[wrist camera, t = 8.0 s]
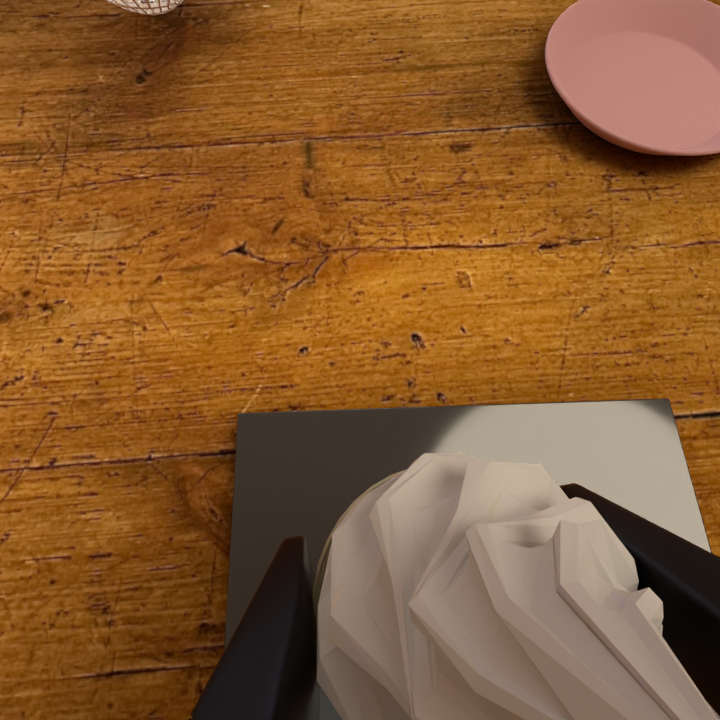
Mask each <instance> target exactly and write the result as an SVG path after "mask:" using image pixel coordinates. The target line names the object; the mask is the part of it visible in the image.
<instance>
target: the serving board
mask: <svg viewBox="0 0 720 720" xmlns="http://www.w3.org/2000/svg"><path fill="white" fill-rule="evenodd" d="M424 453H462V454H466V455H469V456H472V457H475V458H478V459H481V460H484V461H497V462H516V463H534V464H540V465H541V466H542V467H543V468H544V469H545V470H546V471H547V472H548V473H549V474H550V476H551V477H552V478H553V479H554V480H555V482H556V483H557V484H558V486H560V485H566V484H571V483H576V484H579V485H581V486H583V487H585V488H587V489H589V490H591V491H592V492H594V493H596V494H598V495H600V496H602V497H604V498H606V499H608V500H610V501H612V502H614V503H616V504H618V505H620V506H621V507H623V508H625V509H627V510H629V511H631V512H633V513H635V514H637V515H639V516H641V517H643V518H645V519H647V520H648V521H650V522H652V523H654V524H656V525H658V526H660V527H662V528H664V529H666V530H668V531H670V532H672V533H674V534H676V535H677V536H679V537H681V538H683V539H685V540H687V541H689V542H691V543H693V544H695V545H697V546H699V547H701V548H703V549H705V550H706V551H708V552H710V553H712V552H711V548H710V544H709V541H708V537H707V534H706V530H705V526H704V523H703V519H702V516H701V512H700V508H699V505H698V501H697V498H696V494H695V490H694V487H693V483H692V480H691V476H690V472H689V469H688V465H687V462H686V458H685V454H684V451H683V447H682V444H681V440H680V436H679V433H678V429H677V426H676V422H675V418H674V415H673V411H672V408H671V404H670V400H669V399H668V398H666V399H637V400H608V401H578V402H549V403H520V404H491V405H462V406H433V407H404V408H375V409H346V410H317V411H288V412H259V413H239V414H238V423H237V440H236V457H235V474H234V491H233V508H232V526H231V543H230V560H229V577H228V594H227V612H226V629H225V646H224V651H225V649H226V647H227V645H228V643H229V641H230V639H231V637H232V635H233V634H234V632H235V630H236V628H237V626H238V624H239V622H240V620H241V619H242V617H243V615H244V613H245V611H246V609H247V607H248V605H249V603H250V602H251V600H252V598H253V596H254V594H255V592H256V590H257V588H258V587H259V585H260V583H261V581H262V579H263V577H264V575H265V573H266V571H267V570H268V568H269V566H270V564H271V562H272V560H273V558H274V556H275V554H276V553H277V551H278V549H279V547H280V545H281V543H282V541H283V540H284V539H286V538H290V537H295V536H300V535H302V536H304V537H305V538H306V541H307V546H308V550H309V554H310V558H311V562H312V567H313V574H314V580H315V575H316V570H317V566H318V562H319V559H320V557H321V554H322V551H323V549H324V546H325V544H326V541H327V539H328V537H329V535H330V534H331V532H332V530H333V529H334V527H335V525H336V523H337V522H338V520H339V518H340V517H341V516H342V515H343V514H344V512H345V511H346V510H347V509H348V508H349V506H350V505H351V504H352V503H353V502H354V500H356V499H357V498H358V497H359V496H360V495H362V494H363V493H364V492H365V491H366V490H368V489H369V488H370V487H371V486H373V485H374V484H376V483H378V482H379V481H381V480H383V479H385V478H386V477H388V476H390V475H392V474H395V473H398V472H400V471H403V470H406V469H408V468H409V466H410V465H411V464H412V463H413V462H414V461H415V460H416V459H418V458H419V457H420V456H421V455H423V454H424ZM319 720H342V718H341V717H340V715H339V714H338V712H337V711H336V709H335V708H334V706H333V705H332V703H331V701H330V700H329V698H328V697H327V695H326V694H325V692H324V691H323V689H322V688H321V686H320V712H319Z"/></svg>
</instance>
